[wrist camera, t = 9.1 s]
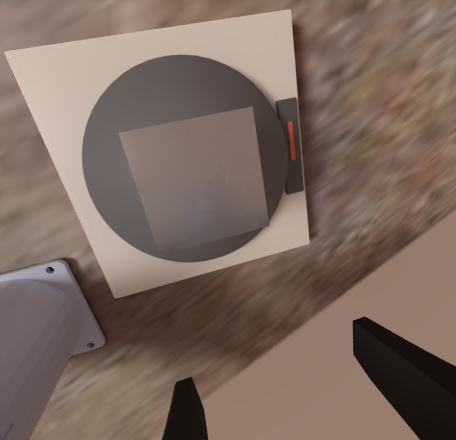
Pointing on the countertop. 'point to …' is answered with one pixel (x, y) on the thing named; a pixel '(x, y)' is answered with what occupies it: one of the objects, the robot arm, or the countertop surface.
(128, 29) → the countertop surface
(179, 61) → the kitchen scale
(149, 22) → the countertop surface
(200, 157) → the block
